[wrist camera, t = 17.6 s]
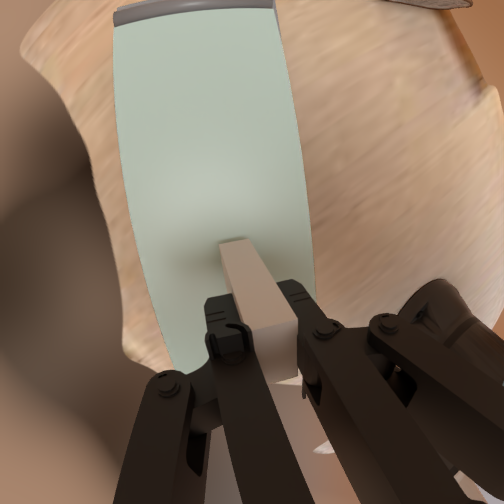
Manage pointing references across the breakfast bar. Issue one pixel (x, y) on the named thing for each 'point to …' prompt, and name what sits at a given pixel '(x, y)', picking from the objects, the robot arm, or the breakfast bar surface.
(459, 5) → the tin
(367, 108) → the breakfast bar surface
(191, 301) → the cover
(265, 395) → the robot arm
